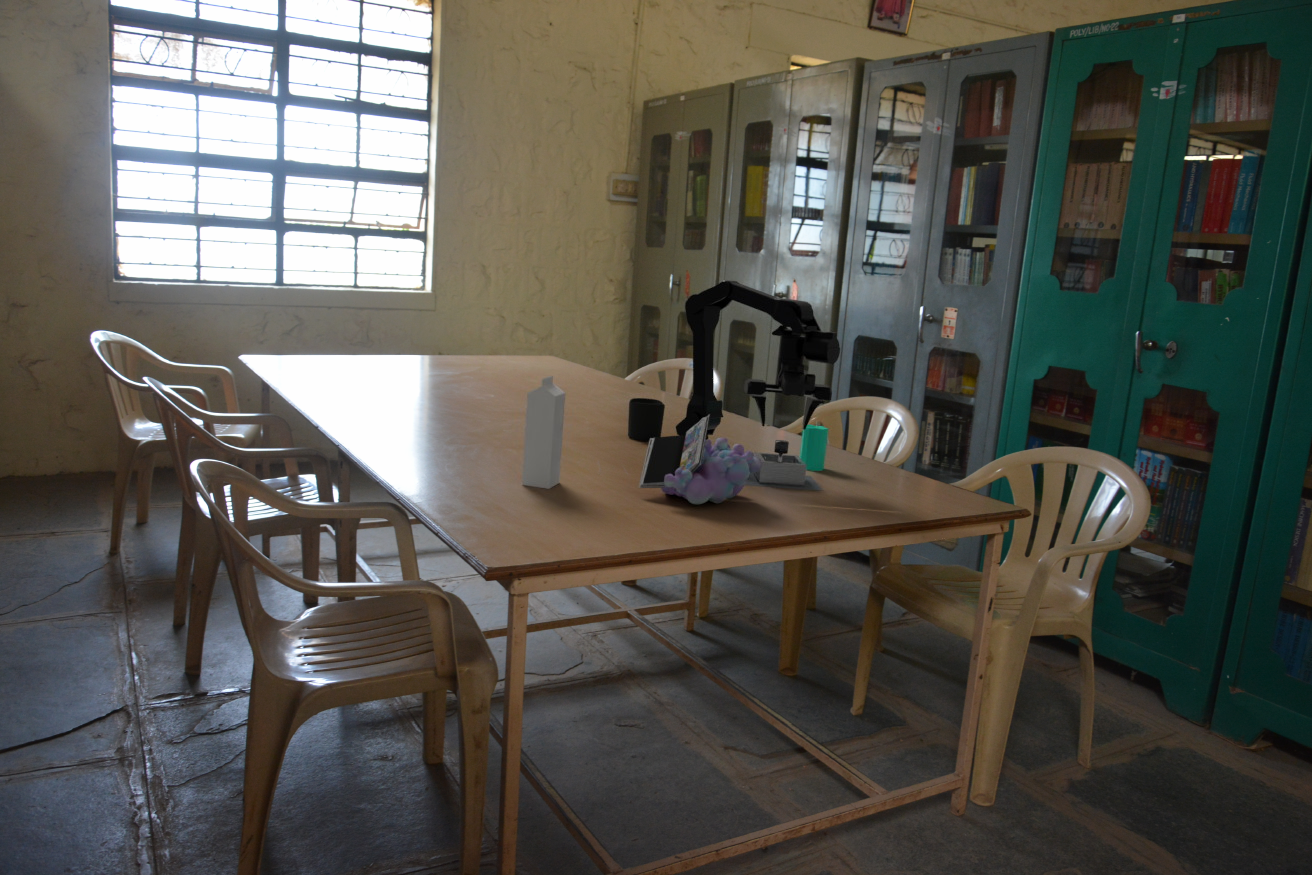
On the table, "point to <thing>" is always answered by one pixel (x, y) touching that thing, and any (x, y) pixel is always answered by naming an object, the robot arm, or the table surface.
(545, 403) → the milk
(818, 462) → the candle
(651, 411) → the pen holder
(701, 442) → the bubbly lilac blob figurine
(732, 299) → the robot arm
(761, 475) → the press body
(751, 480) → the slate mat
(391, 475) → the table surface
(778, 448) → the plunger
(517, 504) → the table surface
